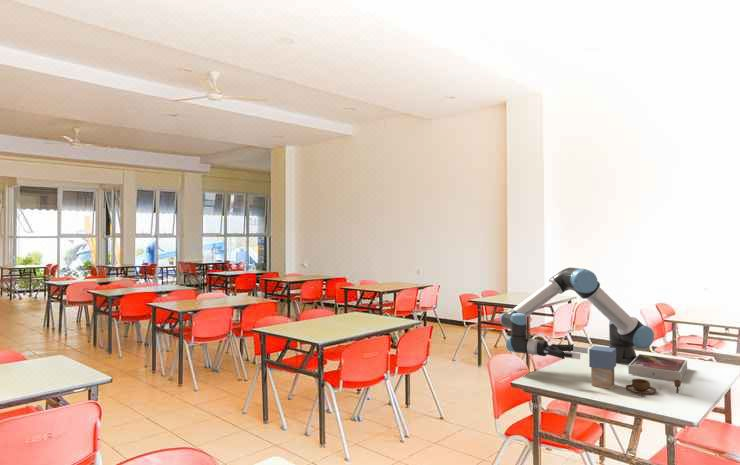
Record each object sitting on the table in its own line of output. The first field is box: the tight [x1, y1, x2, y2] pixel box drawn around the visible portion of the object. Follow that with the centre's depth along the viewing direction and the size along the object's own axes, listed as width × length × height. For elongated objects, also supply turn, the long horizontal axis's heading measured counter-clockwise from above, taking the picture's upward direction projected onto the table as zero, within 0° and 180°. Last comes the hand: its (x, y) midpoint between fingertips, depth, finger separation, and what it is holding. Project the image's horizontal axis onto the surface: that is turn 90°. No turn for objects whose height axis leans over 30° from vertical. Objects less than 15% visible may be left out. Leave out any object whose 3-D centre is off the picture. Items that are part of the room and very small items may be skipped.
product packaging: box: [627, 353, 688, 382], centre depth 250 cm, size 22×28×5 cm
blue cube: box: [588, 345, 617, 370], centre depth 228 cm, size 9×9×8 cm
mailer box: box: [590, 367, 615, 390], centre depth 228 cm, size 8×8×16 cm
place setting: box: [625, 378, 682, 398], centre depth 217 cm, size 18×20×6 cm
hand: (583, 353), depth 233 cm, fingers open, 13 cm apart
